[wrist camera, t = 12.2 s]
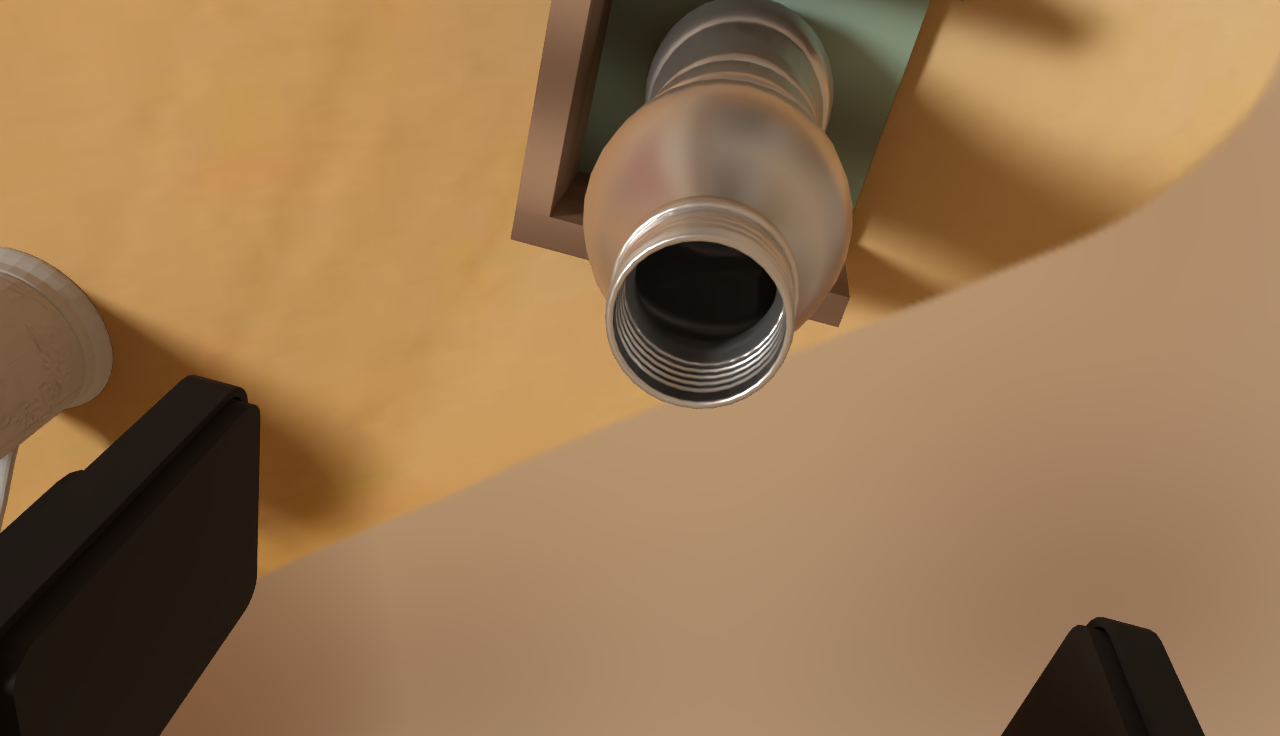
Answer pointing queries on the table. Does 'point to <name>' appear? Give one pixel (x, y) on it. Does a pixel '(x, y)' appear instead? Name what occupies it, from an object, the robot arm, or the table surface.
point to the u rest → (616, 85)
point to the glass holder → (43, 352)
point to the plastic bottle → (720, 205)
